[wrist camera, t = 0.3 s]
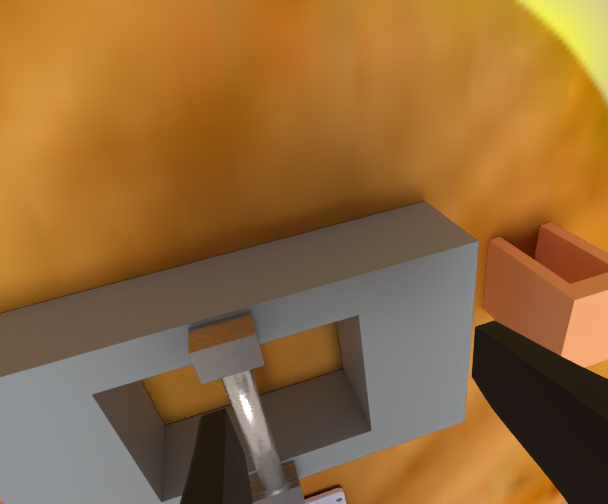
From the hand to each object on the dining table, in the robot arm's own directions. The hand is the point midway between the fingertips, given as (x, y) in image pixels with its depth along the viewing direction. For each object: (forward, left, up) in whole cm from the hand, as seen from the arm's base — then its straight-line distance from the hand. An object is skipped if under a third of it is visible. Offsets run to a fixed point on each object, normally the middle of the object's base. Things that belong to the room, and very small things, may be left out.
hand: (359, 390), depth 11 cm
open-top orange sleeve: (-6, -13, -10) cm, 18 cm away
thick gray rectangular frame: (-6, +4, -10) cm, 12 cm away
